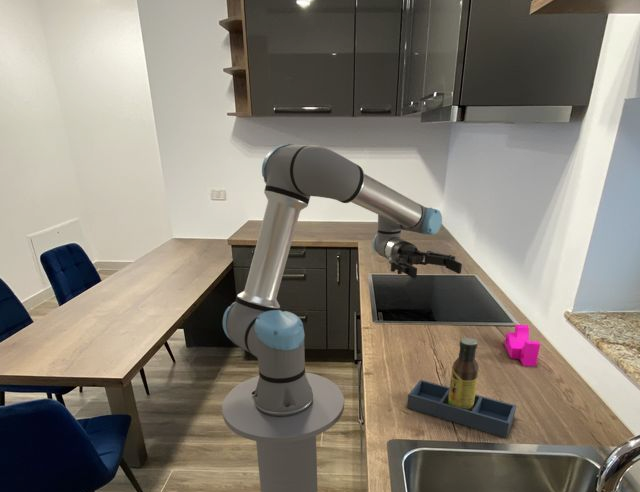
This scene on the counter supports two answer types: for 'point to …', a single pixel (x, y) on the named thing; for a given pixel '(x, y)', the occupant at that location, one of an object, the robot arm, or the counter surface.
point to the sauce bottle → (464, 376)
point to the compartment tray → (482, 417)
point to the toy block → (522, 346)
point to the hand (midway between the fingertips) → (438, 271)
